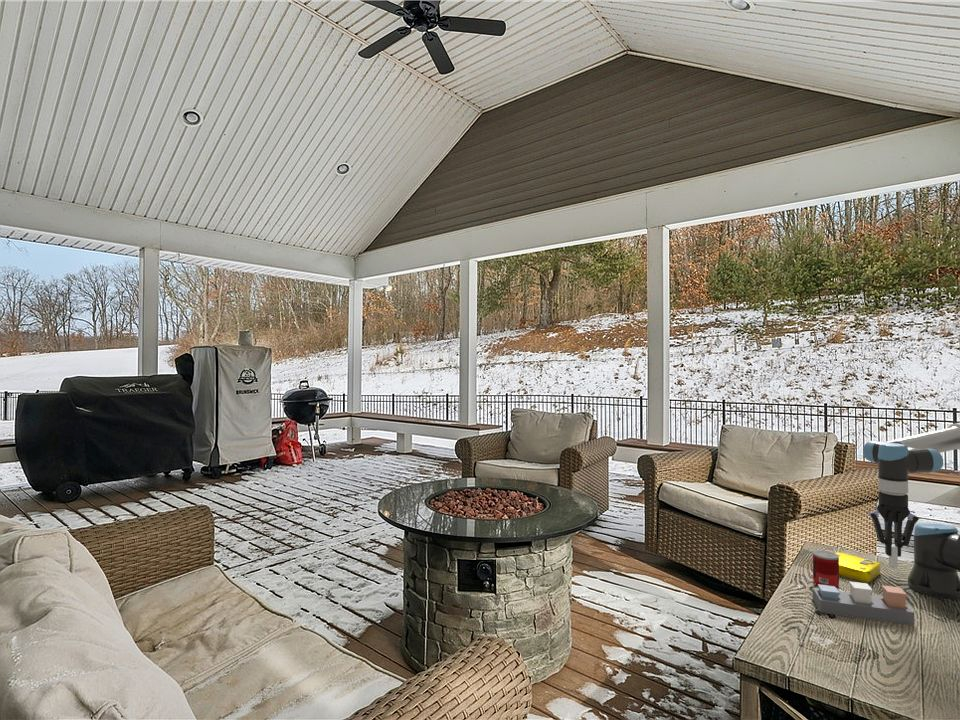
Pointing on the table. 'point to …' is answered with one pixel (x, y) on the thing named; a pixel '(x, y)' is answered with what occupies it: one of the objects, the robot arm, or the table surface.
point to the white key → (860, 592)
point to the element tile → (858, 567)
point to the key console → (863, 608)
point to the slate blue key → (828, 592)
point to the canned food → (826, 568)
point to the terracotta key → (894, 596)
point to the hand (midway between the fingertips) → (893, 565)
